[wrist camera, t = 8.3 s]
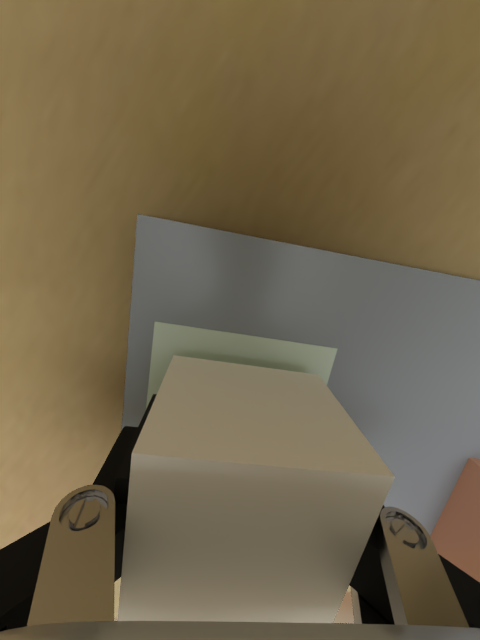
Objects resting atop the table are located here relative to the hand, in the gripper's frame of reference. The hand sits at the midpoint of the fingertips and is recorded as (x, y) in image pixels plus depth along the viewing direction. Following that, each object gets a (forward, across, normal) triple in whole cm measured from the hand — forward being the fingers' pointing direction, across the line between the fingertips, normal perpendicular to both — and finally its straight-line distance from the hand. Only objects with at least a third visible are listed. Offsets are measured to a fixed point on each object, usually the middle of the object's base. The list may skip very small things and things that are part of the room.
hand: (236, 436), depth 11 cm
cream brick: (+1, 0, 0) cm, 1 cm away
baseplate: (+3, -8, 0) cm, 8 cm away
